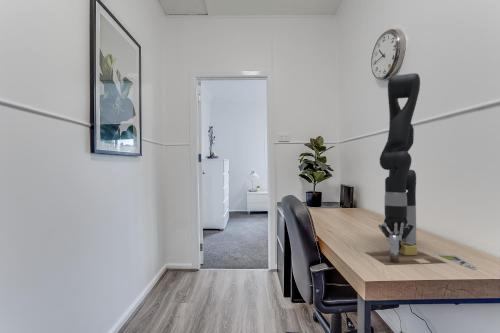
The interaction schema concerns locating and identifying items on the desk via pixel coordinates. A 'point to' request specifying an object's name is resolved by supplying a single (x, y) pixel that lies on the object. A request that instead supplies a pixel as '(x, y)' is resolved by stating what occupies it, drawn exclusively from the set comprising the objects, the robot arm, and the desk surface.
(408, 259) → the board
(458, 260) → the handheld gaming device
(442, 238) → the desk surface
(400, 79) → the robot arm
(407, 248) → the yellow square block
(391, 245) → the metal cylinder
